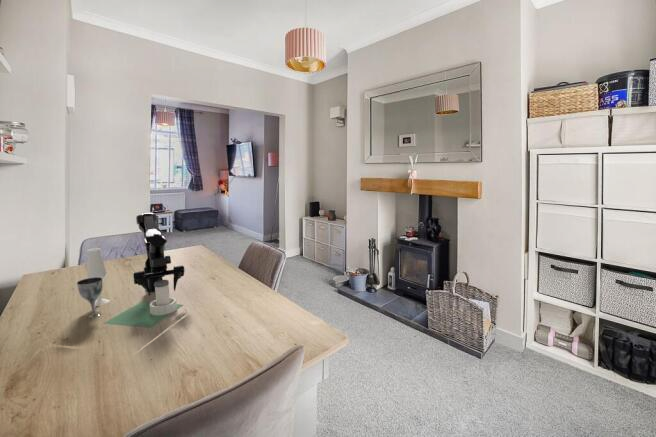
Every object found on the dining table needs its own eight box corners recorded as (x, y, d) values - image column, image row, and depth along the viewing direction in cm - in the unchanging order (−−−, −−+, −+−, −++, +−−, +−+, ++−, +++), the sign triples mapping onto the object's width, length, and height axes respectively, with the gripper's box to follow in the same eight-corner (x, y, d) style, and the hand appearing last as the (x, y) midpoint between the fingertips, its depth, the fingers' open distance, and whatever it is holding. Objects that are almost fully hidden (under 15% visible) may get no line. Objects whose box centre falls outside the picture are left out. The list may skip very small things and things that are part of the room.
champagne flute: (90, 307, 136) (83, 252, 132) (91, 301, 142) (85, 248, 138) (109, 303, 140) (103, 250, 136) (109, 298, 145) (104, 246, 141)
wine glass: (90, 312, 131) (85, 277, 129) (110, 312, 132) (106, 276, 129) (76, 322, 123) (71, 284, 121) (98, 321, 124) (94, 284, 122)
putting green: (103, 324, 121) (102, 314, 120) (142, 302, 141) (141, 293, 140) (150, 329, 118) (149, 318, 117) (183, 306, 137) (183, 296, 137)
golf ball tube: (154, 313, 129) (152, 284, 127) (158, 307, 134) (156, 280, 132) (168, 311, 130) (166, 283, 128) (172, 306, 135) (170, 279, 133)
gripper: (131, 253, 127) (134, 288, 120) (182, 246, 137) (188, 279, 130) (132, 266, 135) (136, 300, 128) (180, 260, 145) (186, 291, 138)
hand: (162, 292), depth 131 cm, fingers open, 9 cm apart
